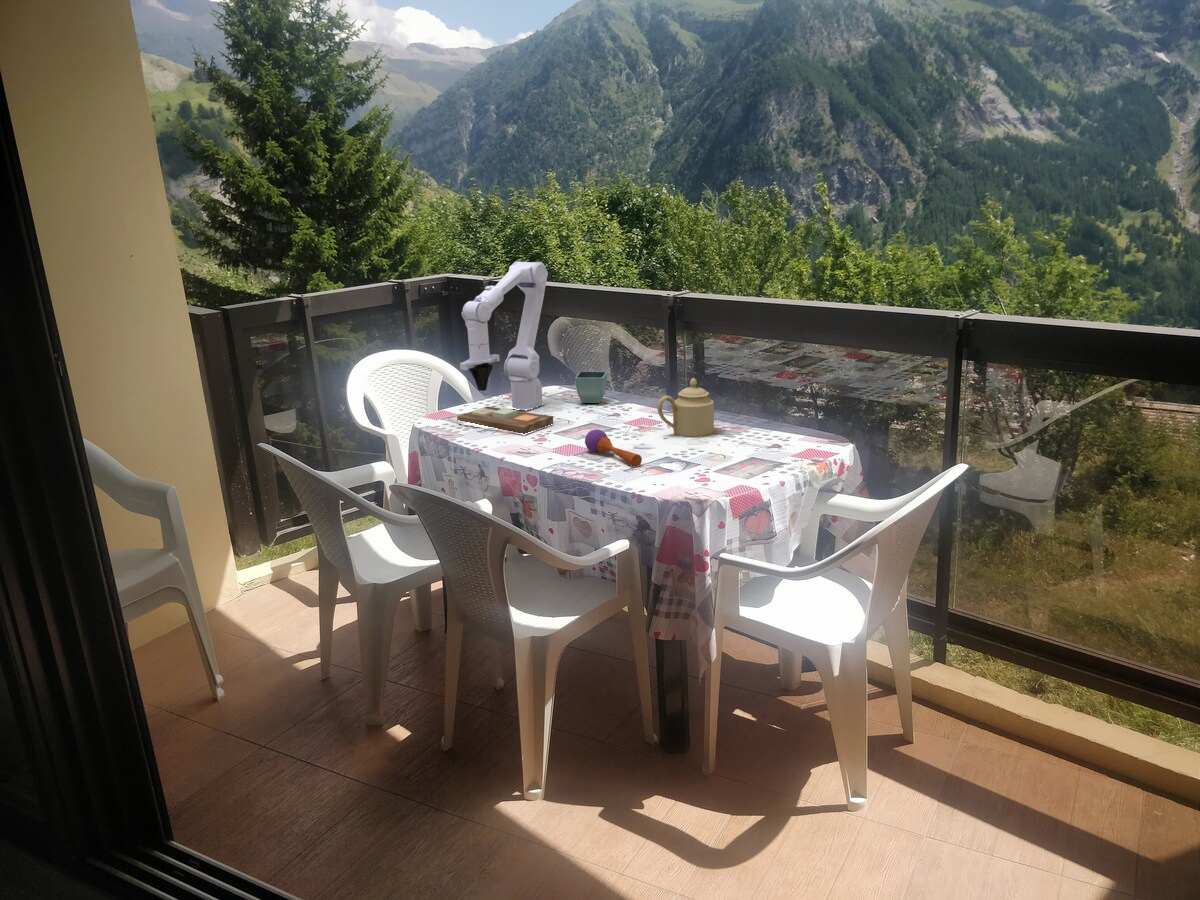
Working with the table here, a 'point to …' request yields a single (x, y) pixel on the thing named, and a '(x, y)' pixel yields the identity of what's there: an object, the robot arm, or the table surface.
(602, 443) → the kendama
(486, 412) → the cream button
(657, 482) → the table surface
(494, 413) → the sage button
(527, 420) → the terracotta button
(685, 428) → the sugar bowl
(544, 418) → the button panel
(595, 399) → the flower pot
